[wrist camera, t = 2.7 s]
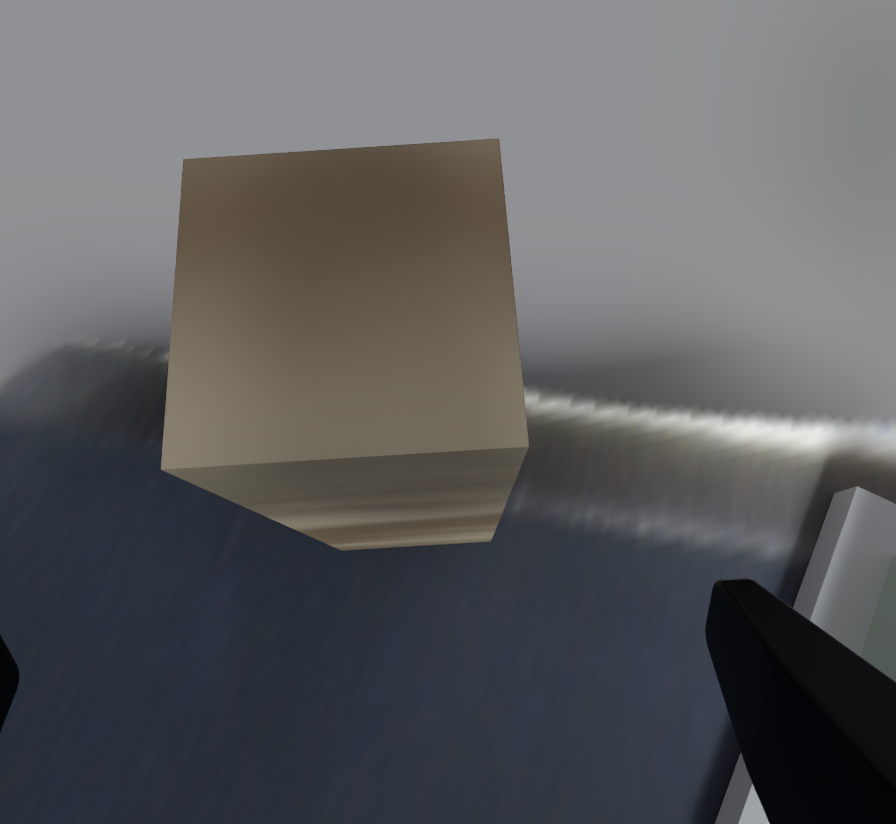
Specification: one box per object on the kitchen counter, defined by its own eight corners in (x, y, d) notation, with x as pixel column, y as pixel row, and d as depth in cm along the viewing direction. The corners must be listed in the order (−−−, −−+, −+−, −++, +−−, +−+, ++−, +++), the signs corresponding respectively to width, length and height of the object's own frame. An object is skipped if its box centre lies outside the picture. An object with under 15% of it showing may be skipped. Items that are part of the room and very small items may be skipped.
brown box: (491, 541, 19) (529, 446, 8) (341, 550, 19) (160, 469, 8) (480, 398, 21) (498, 138, 9) (339, 407, 21) (183, 159, 9)
